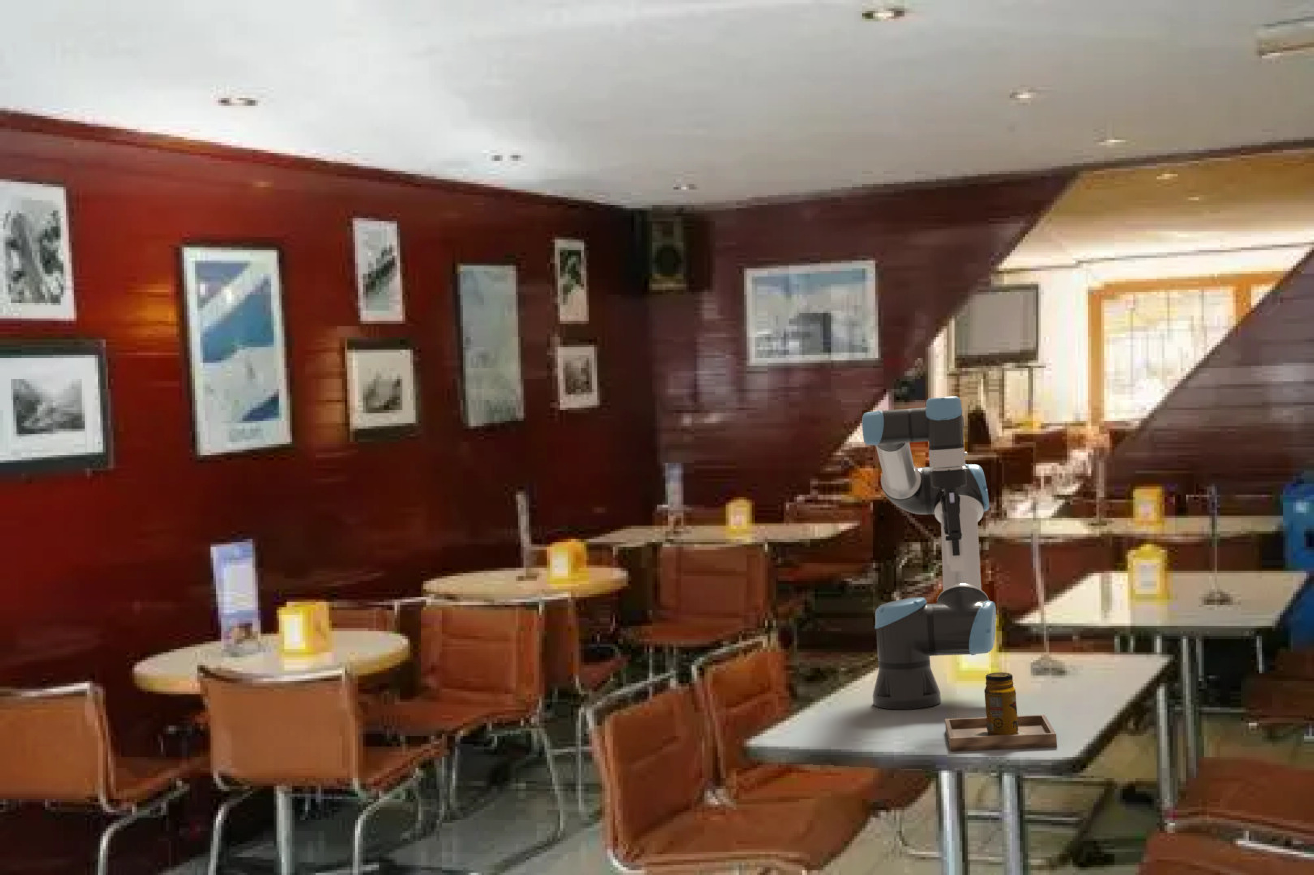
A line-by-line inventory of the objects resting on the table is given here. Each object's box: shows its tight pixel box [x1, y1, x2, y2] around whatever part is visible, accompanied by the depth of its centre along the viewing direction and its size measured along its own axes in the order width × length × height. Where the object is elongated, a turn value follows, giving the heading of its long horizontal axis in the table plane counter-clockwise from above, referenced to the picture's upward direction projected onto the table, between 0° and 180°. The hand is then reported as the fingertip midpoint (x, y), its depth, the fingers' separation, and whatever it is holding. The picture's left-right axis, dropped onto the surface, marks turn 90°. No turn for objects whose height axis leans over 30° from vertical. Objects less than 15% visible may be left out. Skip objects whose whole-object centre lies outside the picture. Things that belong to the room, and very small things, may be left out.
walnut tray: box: [944, 714, 1058, 752], centre depth 295 cm, size 20×18×2 cm
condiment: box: [972, 671, 1027, 736], centre depth 294 cm, size 7×8×12 cm
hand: (955, 567), depth 319 cm, fingers open, 13 cm apart
